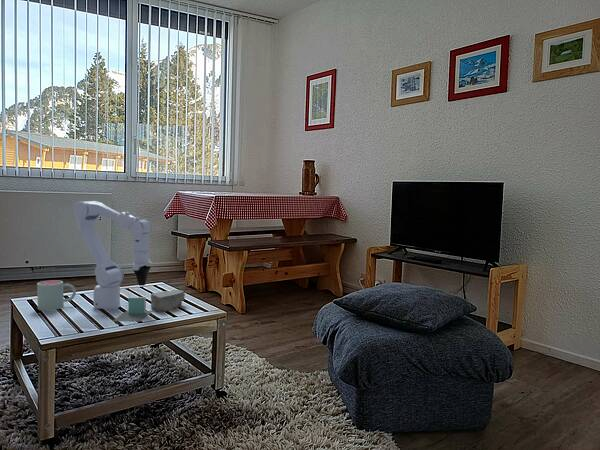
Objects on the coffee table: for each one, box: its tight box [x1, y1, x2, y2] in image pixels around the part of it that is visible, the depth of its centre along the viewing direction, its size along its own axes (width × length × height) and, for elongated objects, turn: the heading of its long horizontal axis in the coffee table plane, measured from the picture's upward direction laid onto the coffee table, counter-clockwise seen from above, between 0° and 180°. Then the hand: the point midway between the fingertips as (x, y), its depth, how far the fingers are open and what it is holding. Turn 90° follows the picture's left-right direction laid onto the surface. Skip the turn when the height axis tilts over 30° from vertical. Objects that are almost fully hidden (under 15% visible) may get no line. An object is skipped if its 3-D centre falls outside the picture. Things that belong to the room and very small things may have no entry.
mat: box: [112, 309, 153, 323], centre depth 180 cm, size 10×14×1 cm
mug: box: [36, 279, 77, 312], centre depth 192 cm, size 14×9×10 cm
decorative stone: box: [150, 289, 186, 313], centre depth 192 cm, size 15×7×10 cm
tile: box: [127, 296, 147, 314], centre depth 183 cm, size 6×2×6 cm, turn 89°
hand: (142, 285), depth 188 cm, fingers closed
